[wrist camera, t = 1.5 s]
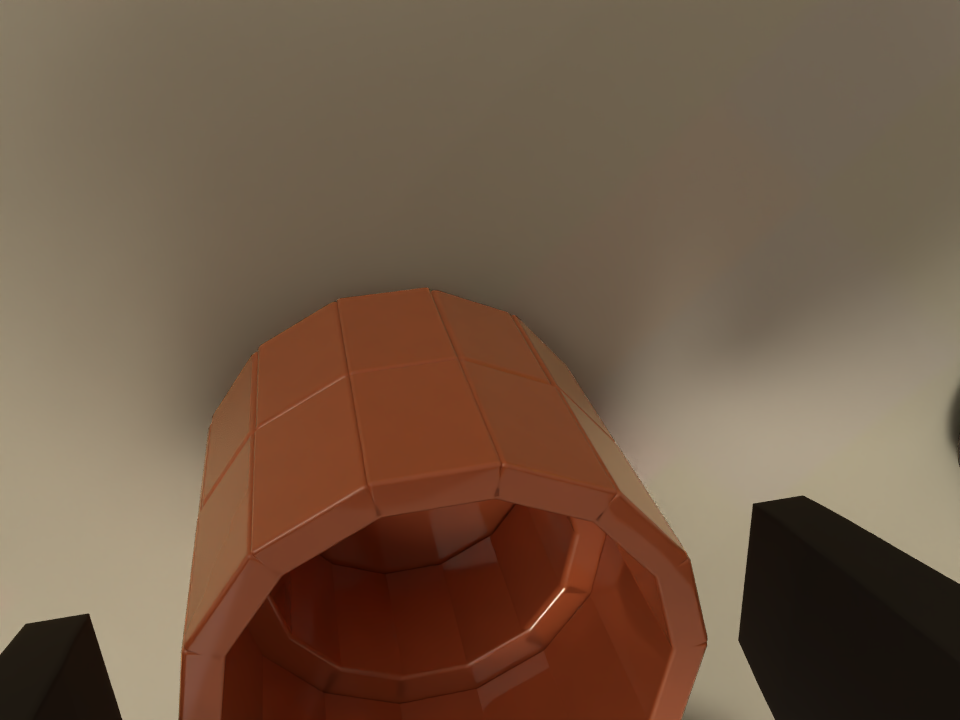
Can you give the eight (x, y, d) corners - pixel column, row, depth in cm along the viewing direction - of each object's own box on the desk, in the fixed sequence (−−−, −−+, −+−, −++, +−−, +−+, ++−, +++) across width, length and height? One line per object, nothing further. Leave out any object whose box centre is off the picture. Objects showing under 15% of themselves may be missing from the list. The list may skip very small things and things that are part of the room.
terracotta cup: (396, 644, 15) (445, 930, 11) (123, 458, 13) (49, 735, 8) (641, 434, 14) (797, 657, 10) (399, 192, 12) (471, 352, 8)
